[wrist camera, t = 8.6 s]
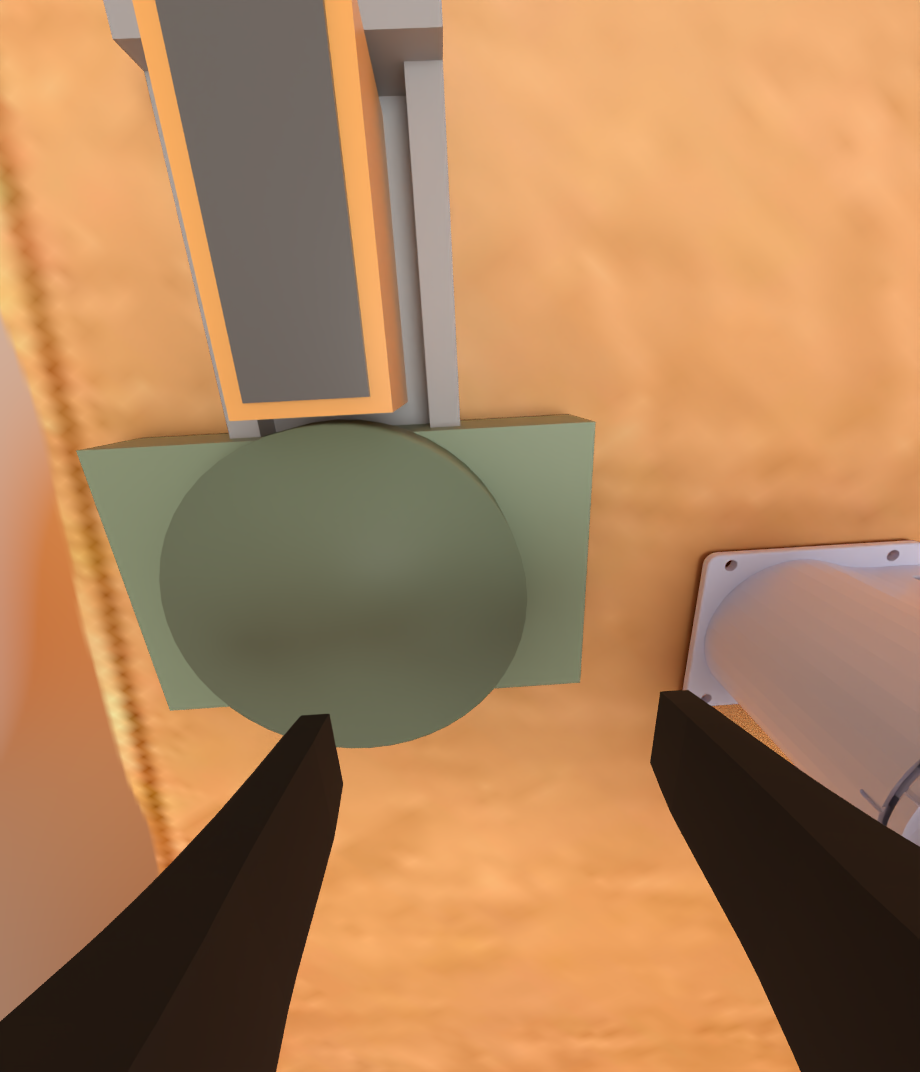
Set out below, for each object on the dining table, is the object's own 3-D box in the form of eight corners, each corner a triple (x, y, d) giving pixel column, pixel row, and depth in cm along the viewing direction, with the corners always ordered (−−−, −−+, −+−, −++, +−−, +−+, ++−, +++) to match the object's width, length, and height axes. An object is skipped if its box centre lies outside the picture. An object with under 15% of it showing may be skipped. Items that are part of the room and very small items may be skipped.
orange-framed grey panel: (382, 114, 12) (344, -56, 8) (407, 402, 15) (392, 413, 10) (244, 120, 12) (115, -49, 7) (295, 407, 15) (225, 422, 10)
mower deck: (581, 57, 13) (665, -134, 8) (560, 648, 20) (596, 731, 15) (31, 78, 12) (-223, -107, 8) (212, 671, 19) (139, 764, 15)
